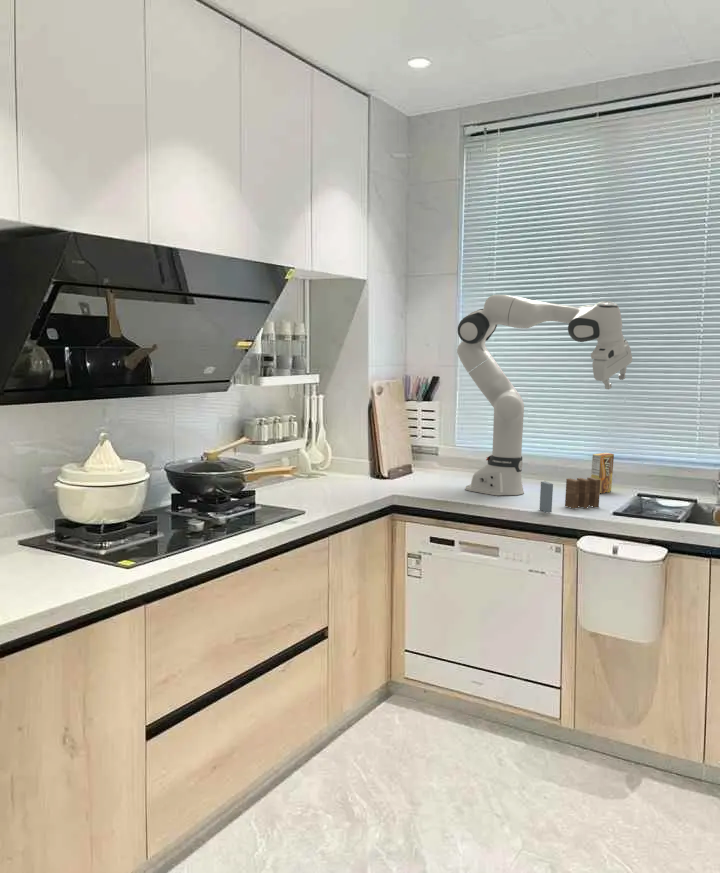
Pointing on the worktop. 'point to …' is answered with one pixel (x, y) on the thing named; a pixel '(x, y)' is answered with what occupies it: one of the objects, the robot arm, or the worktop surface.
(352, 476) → the worktop surface
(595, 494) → the brown wooden block
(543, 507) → the loose tile
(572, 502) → the tile
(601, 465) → the candy box
